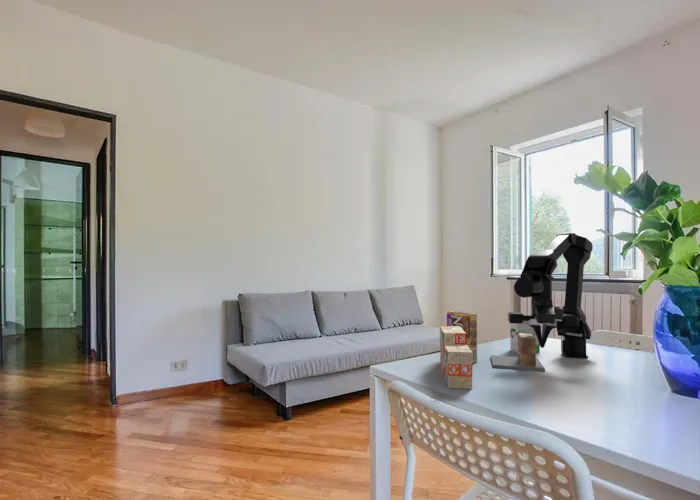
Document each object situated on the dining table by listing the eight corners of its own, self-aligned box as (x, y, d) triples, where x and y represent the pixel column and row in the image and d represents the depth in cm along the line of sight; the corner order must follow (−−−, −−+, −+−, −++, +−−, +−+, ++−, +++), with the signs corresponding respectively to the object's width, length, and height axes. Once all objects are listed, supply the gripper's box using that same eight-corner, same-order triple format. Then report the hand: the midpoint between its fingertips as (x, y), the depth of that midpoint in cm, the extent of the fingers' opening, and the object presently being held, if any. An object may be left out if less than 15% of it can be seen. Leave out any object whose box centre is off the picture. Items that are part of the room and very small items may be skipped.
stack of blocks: (473, 389, 95) (472, 340, 95) (447, 388, 95) (446, 339, 96) (460, 366, 116) (460, 325, 116) (439, 365, 117) (439, 325, 117)
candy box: (478, 361, 120) (477, 313, 120) (470, 364, 117) (469, 314, 118) (454, 356, 127) (453, 310, 127) (446, 358, 124) (445, 311, 125)
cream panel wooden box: (531, 359, 119) (531, 333, 119) (535, 365, 113) (535, 338, 113) (518, 358, 120) (517, 332, 121) (521, 364, 114) (520, 337, 114)
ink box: (531, 349, 137) (531, 316, 137) (540, 352, 132) (540, 318, 133) (509, 350, 136) (509, 316, 136) (517, 353, 131) (517, 318, 131)
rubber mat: (537, 360, 121) (537, 358, 121) (544, 371, 110) (544, 368, 110) (490, 357, 125) (490, 355, 125) (493, 367, 114) (493, 364, 114)
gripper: (511, 297, 111) (511, 351, 110) (584, 299, 105) (585, 356, 105) (507, 294, 121) (507, 343, 121) (573, 295, 116) (574, 347, 115)
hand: (542, 347), depth 115 cm, fingers closed
